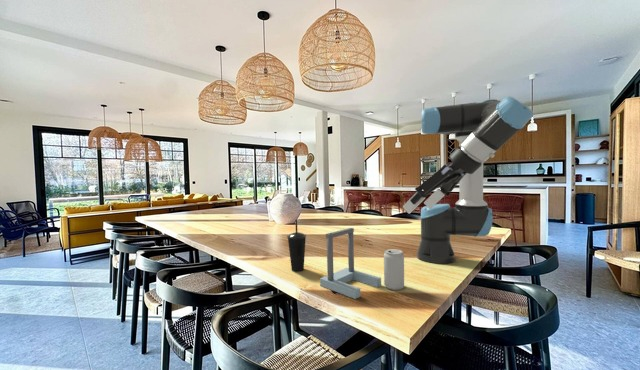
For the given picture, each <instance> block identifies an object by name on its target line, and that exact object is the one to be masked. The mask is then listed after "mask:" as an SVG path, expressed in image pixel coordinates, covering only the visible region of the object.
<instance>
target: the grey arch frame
mask: <svg viewBox="0 0 640 370" xmlns="http://www.w3.org/2000/svg"><path fill="white" fill-rule="evenodd" d="M354 232H355V229H354V227H347V228H344V229H340V230H336V231H332V232H328V233H327V232H326V234H325V239H326V260H327V261H326V262H327V263H326V265H327V269H326V270H327V275H325V276H323V277H321V278H319V283H320V284H319V285H320V287H323V288H324V289H328V290H329V291H333V292H335V293H338V294H341V295H344V296H346V297H349V298H352V299H354V300H358V298H361V288H360V287H357V286H355V285H351V284H348V283H349V282H351V281H356V282H360V283H363V284H366V285H368V286H372V287H374V288H378V287H380V286H382V277H380V276H377V275H372V274H369V273H366V272H362V271H359V270H356V269H355V250H354V249H355V246H354V244H355V243H354ZM345 235H347V253H348V256H347V258H348V259H347V260H348V267H345V268H343V269H340V270H337V271H335V272H334V246H333V245H334V244H333V243H334V242H333V241H334V238H337V237H341V236H345Z"/></svg>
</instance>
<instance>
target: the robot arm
mask: <svg viewBox="0 0 640 370" xmlns="http://www.w3.org/2000/svg"><path fill="white" fill-rule="evenodd" d="M420 117H421V133H422V134H424V135H430V134H431V135H436V134H440V135H454V139H455V140H457V142H458V144H459V145H458V146H457V147H456V148H455V149H454V150H453V151H452V152H451V153H450V155H449V160H450V161H451V163H450V164H449V165H447V164H443V165H442V167H440V168H439V169H438V170H437V171H436V172H434V173H433V174H432V175H431V176H429V178H427V179H425V181H423V182H422V183H421V184H420V185H419V186H416V187H415V188H414V189H415V191H416V192H415V193H414V194H413V195H412V196H411V197H410V198H409V200H407V201H406V202H405V203H404V204H403V205H402V208H403V209H404V210H405V211H406V213H407V214H411V213H412V212H414V210H415V209H416V208H417V207H418V206H419V205H420V204H422V203H423V204H424V205H425V206H423V207H422V208H421V209H420V242H419V245H418V247H417V249H416V250H417V251H416V258H417V259H418V260H420V261H422V262H426V263H432V264H450V263H453V262H455V261H456V255H455V251H454V248H453V246H452V243H451V236H462V237H463V236H467V237H474V238H476V237H486V236H488V235H489V234H490V232H491V229H492V226H493V219H494V217H493V210H492V208H491V207H488V203H487V202H486V201H485V200H484V163H485V162H487V160H489V158H491V159H494V158H495V156H496V155H495V153H496V152H497V151H498V150H500V148H502V147H503V146H504V145H505V144H506V143H507V142H508V141H509V140H511V139H512V138H513V137H514V136H515V135H516V134H517V133H518V132H519V131H520V130H522V129H524V127H526V124H527V123H528V122H529V121H530V120H531V119H532V118H533V117H534V111H533V110H532V109H530V108H529V107H528V106H526V105H525V104H523V103H522V102H520V101H519V100H517V99H516V98H514V97H512V96H510V95H509V96H505V98H503V99H502V100H498V99H494V98H489V99H485V100H483V101H481V102H469V103H460V104H451V105H444V106H436V107H435V106H432V107H429V108H423V109H422V111H421V116H420ZM458 184H459V189H458V190H459V199H458V200H457V201H456V202H455V206H454V207H451V205H450V204H449V203H439V202H440V201H441V199H443V198H444V197H445V196H447V197H449V196H450V195H451V192H452V191H453V190H454V189H455V188H456V186H458ZM431 193H432V194H431ZM430 194H431V195H430ZM429 195H430V196H429ZM427 196H429V197H428V198H426V197H427ZM424 200H425V201H424ZM423 201H424V202H423Z"/></svg>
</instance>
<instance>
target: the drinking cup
mask: <svg viewBox="0 0 640 370" xmlns="http://www.w3.org/2000/svg"><path fill="white" fill-rule="evenodd" d="M294 221H295V223H294V224H295V232H293V233H292V232H291V233H289V234H288V235H286V238H287V243H288V251H289V259H290V267H291V268H290V269H291V271H292V272H302V271H304V269H305V255H306V241H307V240H306V238H307V235H306V234H305V233H302V232H298V219H295V220H294Z"/></svg>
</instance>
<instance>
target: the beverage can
mask: <svg viewBox="0 0 640 370" xmlns="http://www.w3.org/2000/svg"><path fill="white" fill-rule="evenodd" d="M383 283H384V285H383V286H385V287H386V288H387V289H388V290H391V291H399V290H400V291H401V290H402V289H403V288H405V255H404V252H403V250H401V249H395V248H389V249H386V250H384V254H383Z"/></svg>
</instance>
